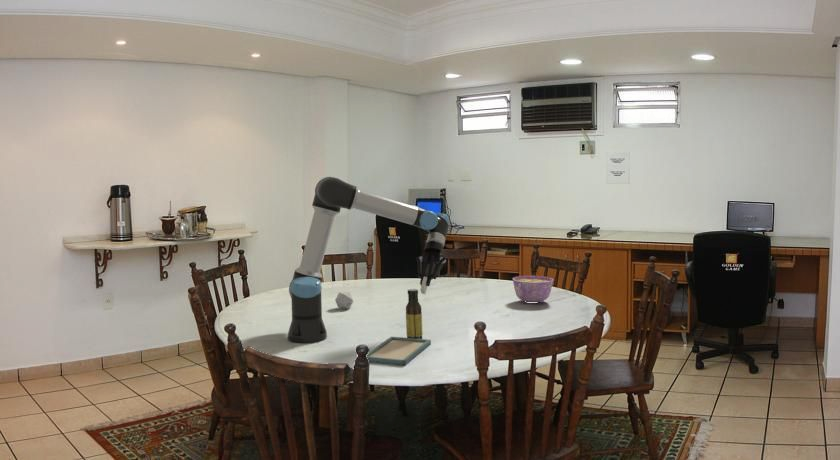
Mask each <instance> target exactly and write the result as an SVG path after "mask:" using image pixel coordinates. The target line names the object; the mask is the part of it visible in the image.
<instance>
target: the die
mask: <svg viewBox="0 0 840 460" xmlns="http://www.w3.org/2000/svg"><path fill="white" fill-rule="evenodd" d="M334 300H335V303H336V305H337V308H338V310H350V309H351V307H352V305H353V303H354V300H353V297H352V294H351V292H349V291H343V292H341V291H339V292H338V294H337V295H336V297H335V299H334Z"/></svg>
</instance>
